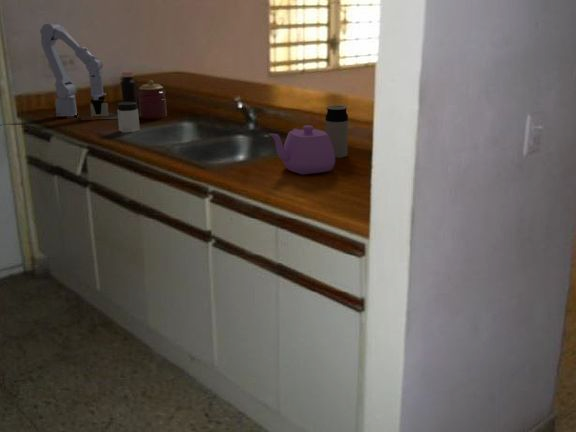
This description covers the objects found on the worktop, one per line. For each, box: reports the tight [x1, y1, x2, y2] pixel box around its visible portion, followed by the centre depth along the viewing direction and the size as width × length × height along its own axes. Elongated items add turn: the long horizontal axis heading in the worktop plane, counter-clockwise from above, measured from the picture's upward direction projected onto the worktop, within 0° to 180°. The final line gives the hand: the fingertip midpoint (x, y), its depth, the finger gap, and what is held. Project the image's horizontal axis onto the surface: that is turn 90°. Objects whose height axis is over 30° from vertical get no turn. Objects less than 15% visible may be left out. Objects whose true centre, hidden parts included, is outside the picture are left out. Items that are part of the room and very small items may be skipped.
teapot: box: [267, 124, 336, 176], centre depth 227 cm, size 23×21×15 cm
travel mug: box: [325, 104, 349, 159], centre depth 245 cm, size 8×8×18 cm
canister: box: [137, 79, 168, 120], centre depth 324 cm, size 13×13×18 cm
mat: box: [101, 113, 118, 120], centre depth 328 cm, size 18×14×1 cm
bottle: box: [120, 71, 138, 104], centre depth 336 cm, size 7×7×20 cm
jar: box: [117, 101, 141, 134], centre depth 294 cm, size 9×8×12 cm
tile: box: [89, 102, 110, 117], centre depth 328 cm, size 2×8×6 cm, turn 98°
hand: (99, 112), depth 328 cm, fingers open, 7 cm apart
